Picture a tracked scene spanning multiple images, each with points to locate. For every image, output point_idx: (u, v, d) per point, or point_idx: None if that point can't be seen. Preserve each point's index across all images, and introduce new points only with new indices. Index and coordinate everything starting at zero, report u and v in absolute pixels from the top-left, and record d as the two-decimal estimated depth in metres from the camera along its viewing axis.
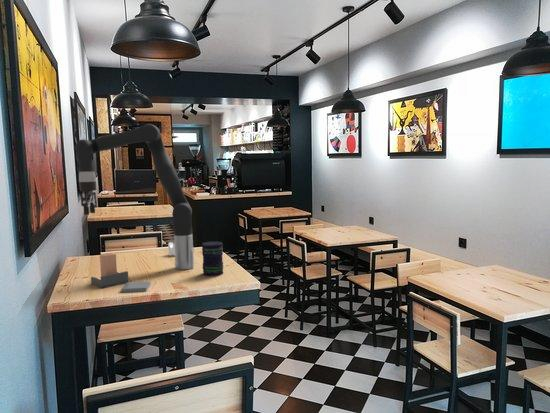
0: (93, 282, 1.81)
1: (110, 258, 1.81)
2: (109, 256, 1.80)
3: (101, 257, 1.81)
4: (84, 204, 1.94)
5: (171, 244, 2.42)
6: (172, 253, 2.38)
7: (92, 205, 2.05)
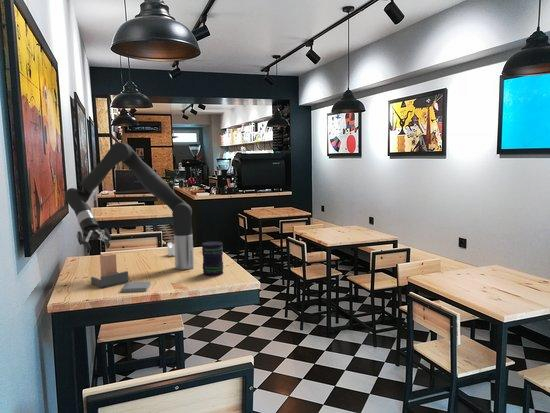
0: (93, 282, 1.81)
1: (110, 258, 1.81)
2: (109, 256, 1.80)
3: (101, 257, 1.81)
4: (79, 241, 1.85)
5: (170, 244, 2.41)
6: (171, 253, 2.38)
7: (105, 240, 1.92)
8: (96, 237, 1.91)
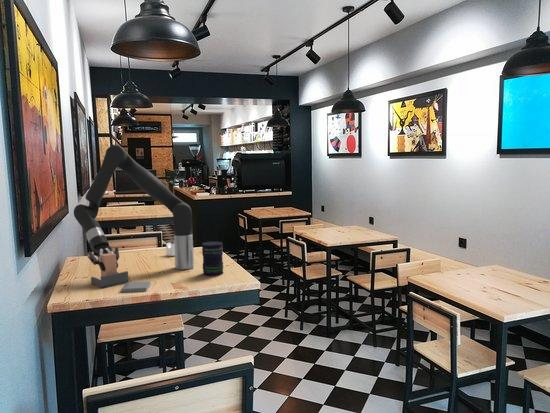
0: (93, 282, 1.81)
1: (110, 258, 1.81)
2: (109, 256, 1.80)
3: (101, 257, 1.81)
4: (94, 261, 1.80)
5: (169, 244, 2.41)
6: (170, 253, 2.38)
7: None
8: None
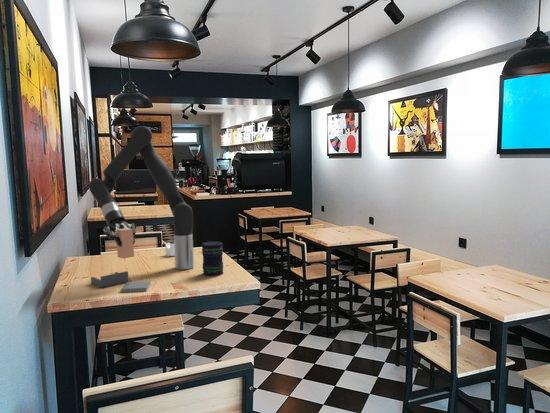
0: (93, 282, 1.81)
1: (126, 233, 1.74)
2: (125, 231, 1.73)
3: (117, 232, 1.74)
4: (110, 236, 1.73)
5: (168, 244, 2.41)
6: (169, 253, 2.37)
7: None
8: None
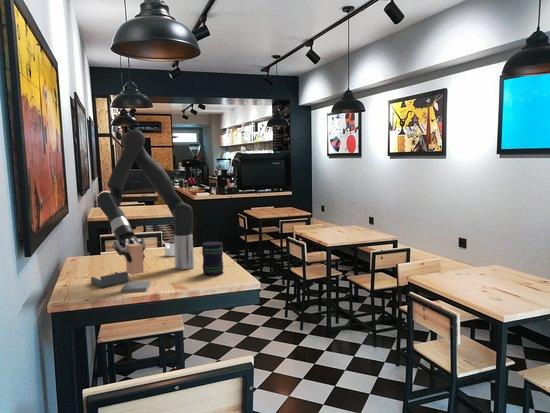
0: (93, 282, 1.81)
1: (136, 249, 1.71)
2: (136, 246, 1.71)
3: (127, 247, 1.72)
4: (119, 252, 1.70)
5: (168, 244, 2.41)
6: (169, 254, 2.37)
7: None
8: None
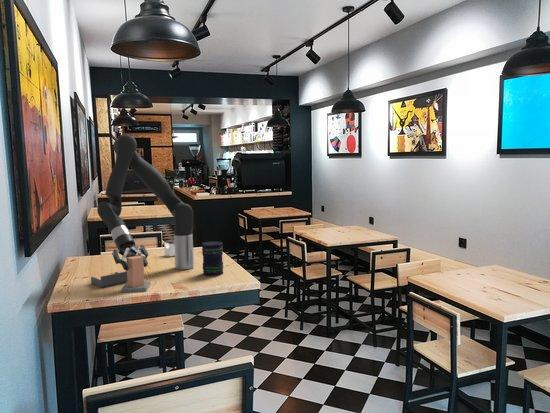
0: (93, 282, 1.81)
1: (137, 261, 1.72)
2: (136, 259, 1.71)
3: (128, 260, 1.72)
4: (116, 260, 1.69)
5: (167, 245, 2.40)
6: (168, 254, 2.37)
7: None
8: (133, 255, 1.76)
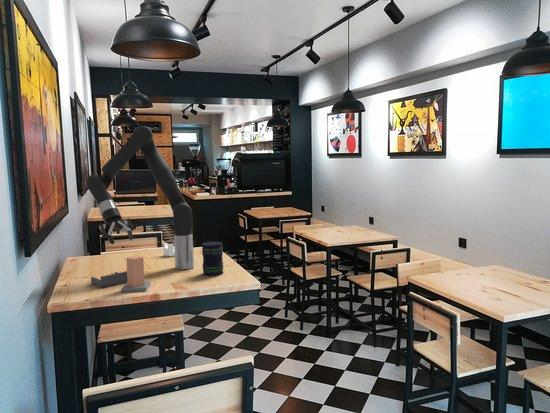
0: (93, 282, 1.81)
1: (137, 261, 1.72)
2: (136, 259, 1.71)
3: (128, 260, 1.72)
4: (102, 234, 1.80)
5: (166, 245, 2.40)
6: (167, 254, 2.37)
7: (128, 232, 1.87)
8: (119, 229, 1.85)
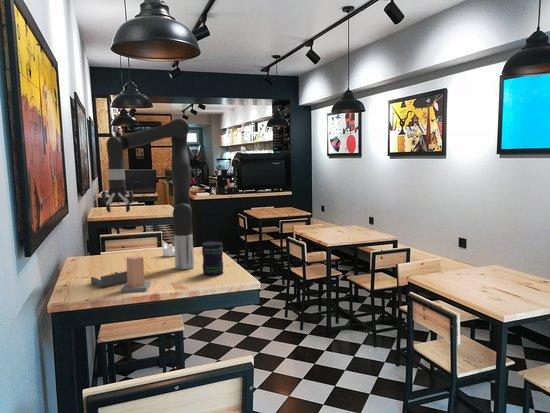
0: (93, 282, 1.81)
1: (137, 261, 1.72)
2: (136, 259, 1.71)
3: (128, 260, 1.72)
4: (102, 201, 1.97)
5: (165, 245, 2.40)
6: (166, 254, 2.36)
7: None
8: None
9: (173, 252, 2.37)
